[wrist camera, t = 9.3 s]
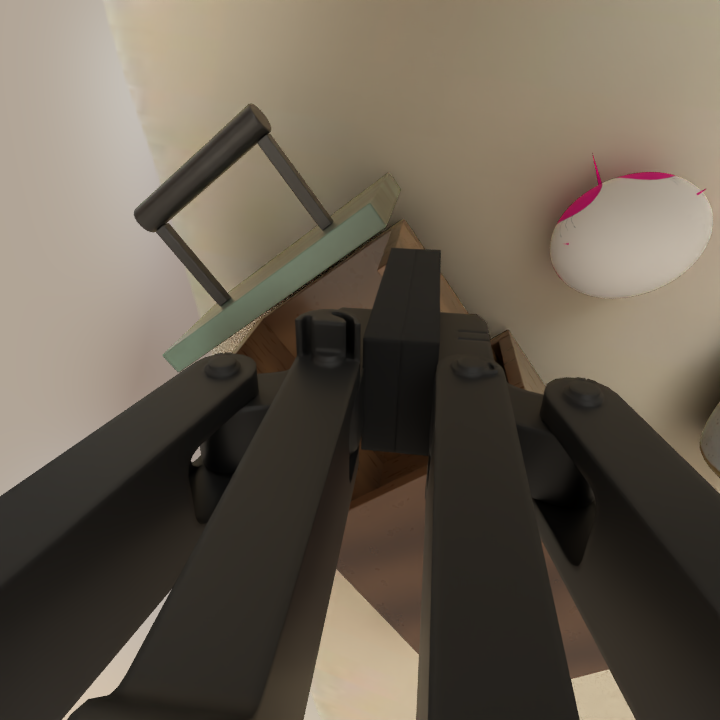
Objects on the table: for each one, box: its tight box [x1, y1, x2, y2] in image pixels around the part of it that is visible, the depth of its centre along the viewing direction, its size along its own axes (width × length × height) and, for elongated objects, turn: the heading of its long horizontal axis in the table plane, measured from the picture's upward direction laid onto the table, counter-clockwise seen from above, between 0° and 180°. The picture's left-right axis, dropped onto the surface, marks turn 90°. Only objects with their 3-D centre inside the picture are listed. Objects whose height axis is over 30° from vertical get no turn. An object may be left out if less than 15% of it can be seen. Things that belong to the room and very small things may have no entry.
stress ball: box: [550, 153, 713, 299], centre depth 27 cm, size 8×8×7 cm
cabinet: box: [336, 330, 609, 679], centre depth 33 cm, size 18×14×11 cm
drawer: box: [134, 104, 508, 501], centre depth 29 cm, size 23×13×9 cm, turn 36°
